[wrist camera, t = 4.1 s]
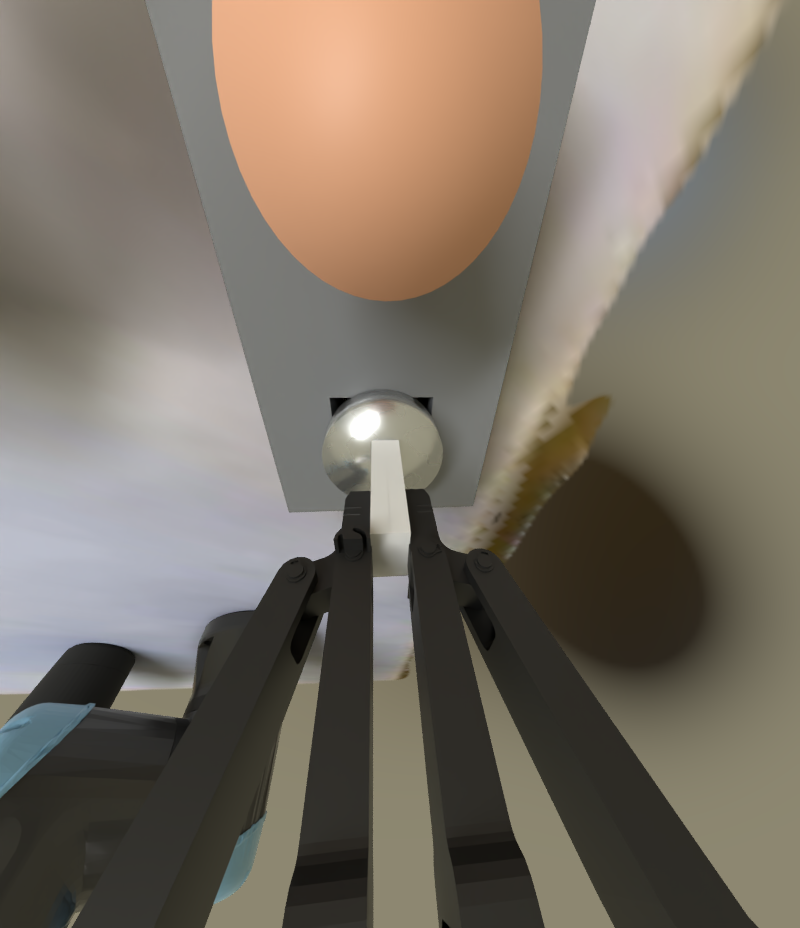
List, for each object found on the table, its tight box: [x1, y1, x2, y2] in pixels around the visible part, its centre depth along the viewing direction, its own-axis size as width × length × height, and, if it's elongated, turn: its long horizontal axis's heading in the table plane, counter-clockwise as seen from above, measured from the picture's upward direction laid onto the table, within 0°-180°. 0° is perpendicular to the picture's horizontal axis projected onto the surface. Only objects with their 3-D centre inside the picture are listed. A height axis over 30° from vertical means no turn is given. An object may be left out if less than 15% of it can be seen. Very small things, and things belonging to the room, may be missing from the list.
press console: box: [145, 0, 596, 512], centre depth 17 cm, size 24×14×6 cm, turn 178°
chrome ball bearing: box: [322, 389, 443, 495], centre depth 19 cm, size 7×7×7 cm
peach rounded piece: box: [212, 0, 543, 301], centre depth 9 cm, size 7×7×7 cm
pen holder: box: [6, 643, 135, 723], centre depth 40 cm, size 9×9×10 cm
